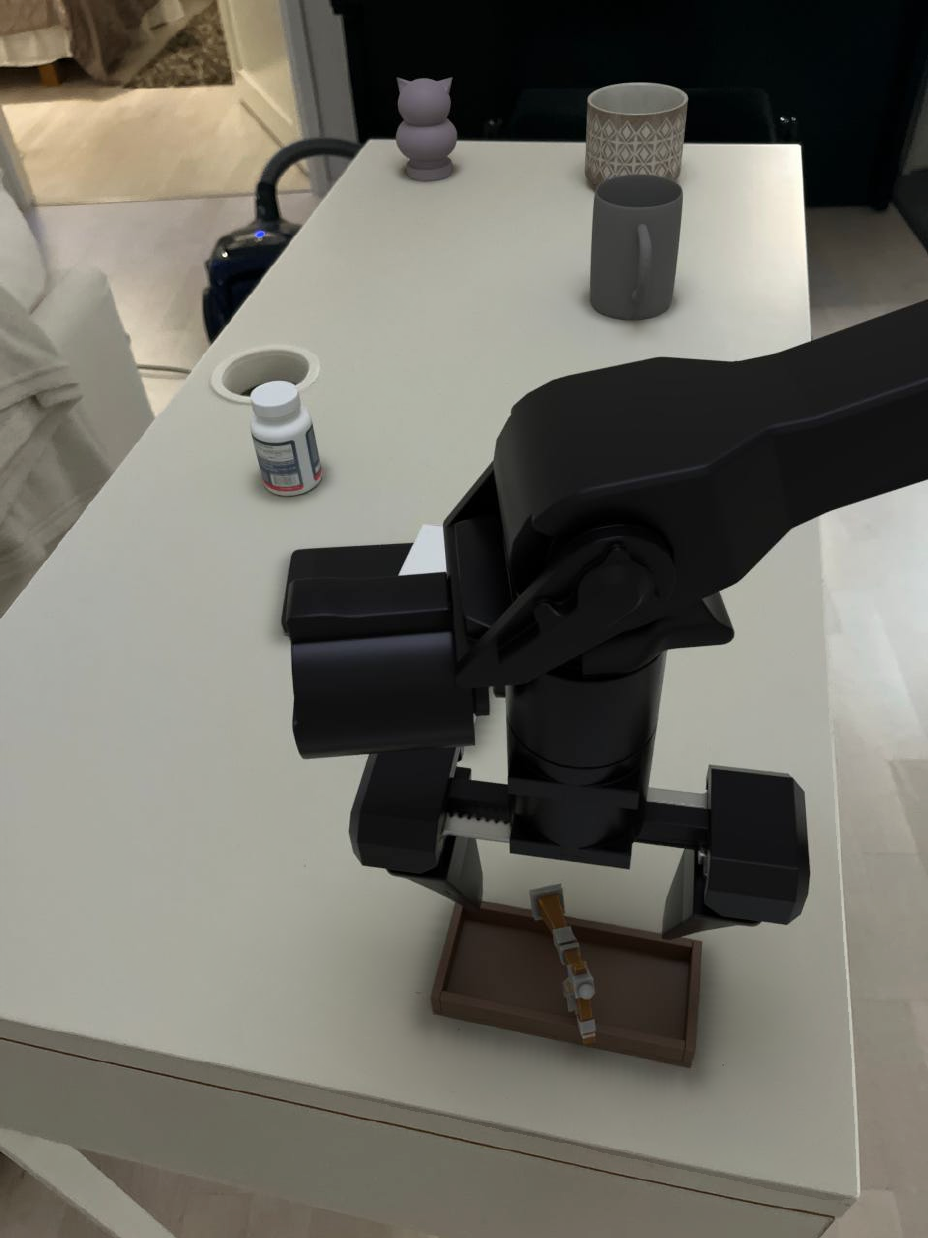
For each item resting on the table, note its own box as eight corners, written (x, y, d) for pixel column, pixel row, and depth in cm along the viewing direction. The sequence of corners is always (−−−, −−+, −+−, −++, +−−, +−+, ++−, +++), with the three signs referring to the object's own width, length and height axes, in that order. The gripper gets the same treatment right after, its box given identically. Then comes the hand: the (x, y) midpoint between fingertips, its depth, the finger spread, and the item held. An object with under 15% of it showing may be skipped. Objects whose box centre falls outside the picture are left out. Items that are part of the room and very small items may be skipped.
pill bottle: (298, 455, 90) (281, 369, 84) (334, 478, 87) (319, 390, 81) (251, 481, 88) (230, 394, 82) (286, 505, 85) (267, 417, 79)
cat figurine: (392, 181, 137) (383, 87, 128) (407, 161, 142) (399, 69, 134) (452, 184, 135) (446, 88, 127) (464, 162, 140) (460, 70, 132)
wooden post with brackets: (576, 1061, 47) (568, 986, 46) (537, 954, 55) (528, 886, 53) (612, 1053, 48) (605, 978, 46) (568, 947, 55) (561, 879, 53)
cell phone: (523, 621, 73) (523, 612, 72) (281, 635, 73) (279, 626, 73) (515, 545, 79) (515, 536, 79) (293, 557, 80) (291, 548, 79)
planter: (578, 167, 137) (580, 85, 130) (668, 160, 137) (676, 78, 130) (592, 202, 128) (595, 117, 121) (688, 195, 128) (698, 109, 121)
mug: (586, 283, 112) (590, 175, 103) (667, 280, 111) (678, 171, 103) (595, 343, 102) (600, 229, 94) (684, 340, 102) (697, 225, 93)
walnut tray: (698, 958, 54) (702, 940, 52) (690, 1068, 50) (695, 1052, 48) (458, 913, 57) (456, 895, 55) (432, 1014, 52) (430, 997, 51)
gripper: (824, 586, 41) (763, 804, 52) (391, 549, 44) (419, 762, 55) (848, 807, 33) (770, 1008, 44) (320, 743, 36) (369, 946, 47)
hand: (570, 916), depth 48 cm, fingers open, 9 cm apart
